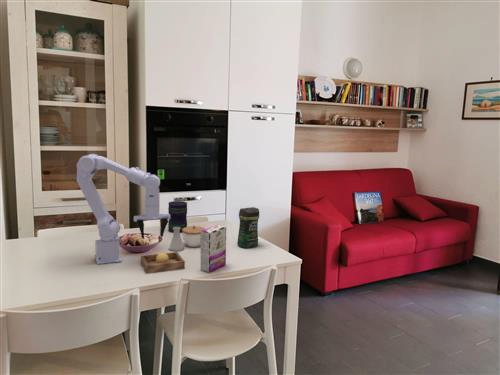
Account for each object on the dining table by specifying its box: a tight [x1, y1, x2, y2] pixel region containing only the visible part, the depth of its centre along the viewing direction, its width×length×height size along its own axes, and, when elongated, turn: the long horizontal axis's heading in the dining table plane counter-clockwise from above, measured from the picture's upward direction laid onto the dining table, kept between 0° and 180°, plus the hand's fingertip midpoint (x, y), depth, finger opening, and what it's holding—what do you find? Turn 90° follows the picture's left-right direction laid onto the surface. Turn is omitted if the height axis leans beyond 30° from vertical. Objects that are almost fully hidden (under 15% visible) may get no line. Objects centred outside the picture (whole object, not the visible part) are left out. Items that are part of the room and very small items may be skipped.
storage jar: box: [167, 200, 188, 234], centre depth 208 cm, size 10×10×15 cm
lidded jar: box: [182, 225, 206, 248], centre depth 185 cm, size 11×11×9 cm
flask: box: [168, 227, 185, 252], centre depth 179 cm, size 7×7×10 cm
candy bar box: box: [200, 224, 227, 273], centre depth 158 cm, size 11×5×16 cm, turn 148°
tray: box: [140, 251, 186, 274], centre depth 158 cm, size 15×12×3 cm
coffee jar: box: [237, 206, 260, 249], centre depth 187 cm, size 10×8×19 cm
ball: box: [156, 252, 169, 264], centre depth 158 cm, size 5×5×5 cm
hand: (152, 237), depth 163 cm, fingers open, 7 cm apart
